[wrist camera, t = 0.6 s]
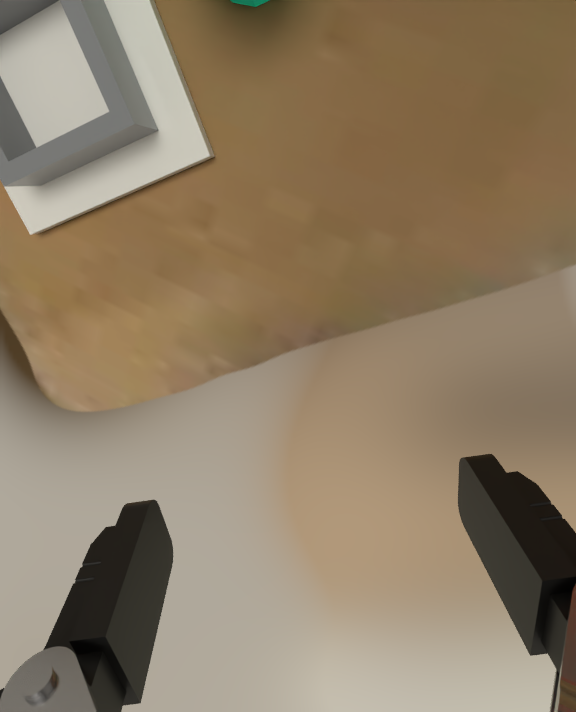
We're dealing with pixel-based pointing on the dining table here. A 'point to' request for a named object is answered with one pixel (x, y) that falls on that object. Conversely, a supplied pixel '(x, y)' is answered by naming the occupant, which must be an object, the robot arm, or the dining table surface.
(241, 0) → the candle
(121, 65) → the candle holder
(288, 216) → the dining table surface
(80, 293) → the dining table surface
